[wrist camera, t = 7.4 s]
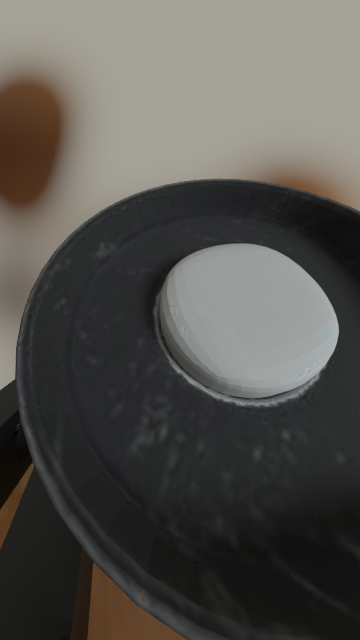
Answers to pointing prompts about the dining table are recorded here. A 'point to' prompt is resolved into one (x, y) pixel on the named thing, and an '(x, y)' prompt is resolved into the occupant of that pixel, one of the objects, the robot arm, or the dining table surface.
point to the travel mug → (206, 405)
